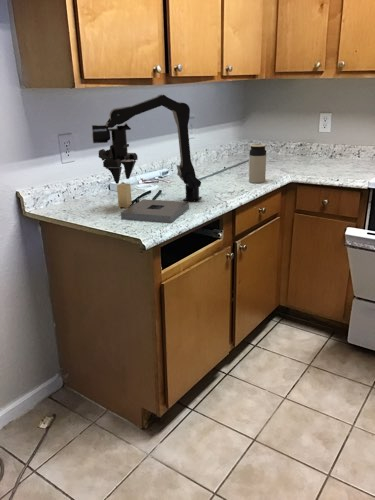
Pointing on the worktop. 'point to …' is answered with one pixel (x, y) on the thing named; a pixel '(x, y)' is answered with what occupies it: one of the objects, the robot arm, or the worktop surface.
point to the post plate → (155, 210)
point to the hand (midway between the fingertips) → (122, 181)
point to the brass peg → (124, 195)
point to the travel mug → (257, 163)
